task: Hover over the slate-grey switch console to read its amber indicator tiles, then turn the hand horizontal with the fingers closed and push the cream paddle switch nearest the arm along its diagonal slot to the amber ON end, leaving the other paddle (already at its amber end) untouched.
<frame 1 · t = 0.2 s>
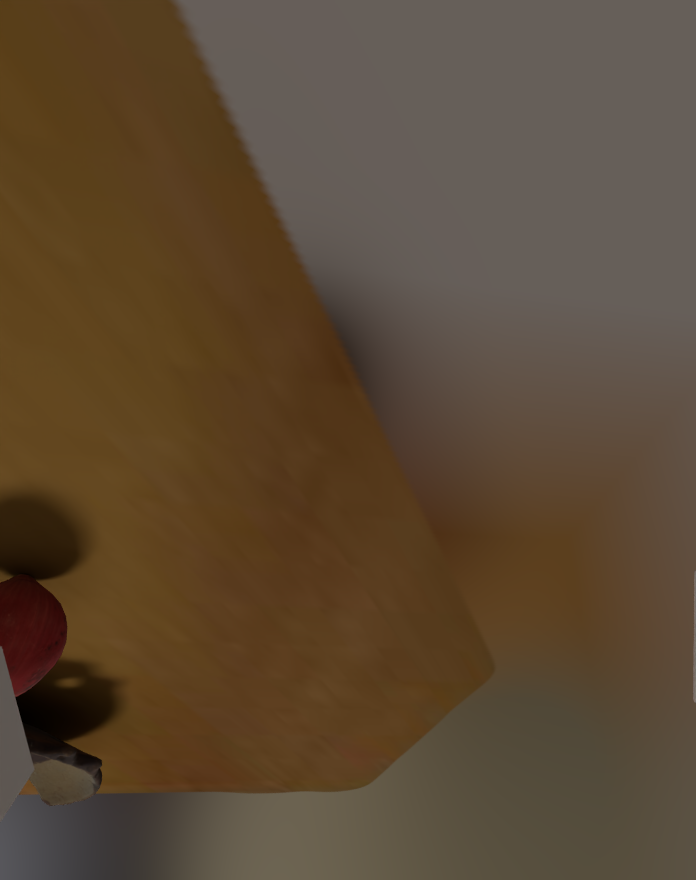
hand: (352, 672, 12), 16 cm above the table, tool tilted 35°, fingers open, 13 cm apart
onion: (27, 573, 38), on the table
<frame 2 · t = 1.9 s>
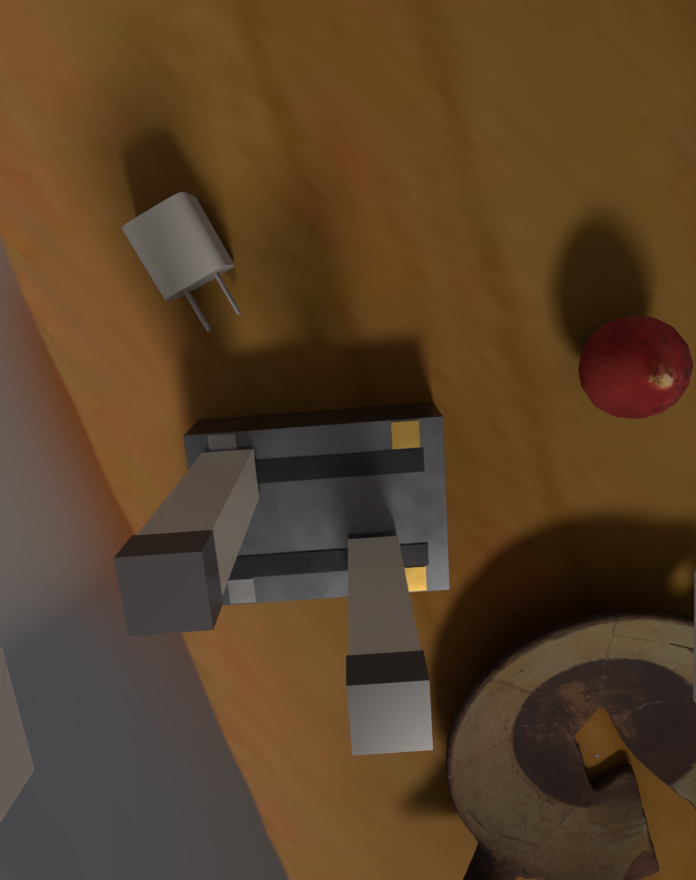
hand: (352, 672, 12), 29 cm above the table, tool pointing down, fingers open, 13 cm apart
onion: (606, 358, 40), on the table
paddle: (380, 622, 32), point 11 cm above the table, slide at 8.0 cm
console: (323, 492, 42), on the table
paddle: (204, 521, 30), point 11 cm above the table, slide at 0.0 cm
broken bowl: (558, 730, 47), on the table
usb wall charger: (201, 268, 39), on the table
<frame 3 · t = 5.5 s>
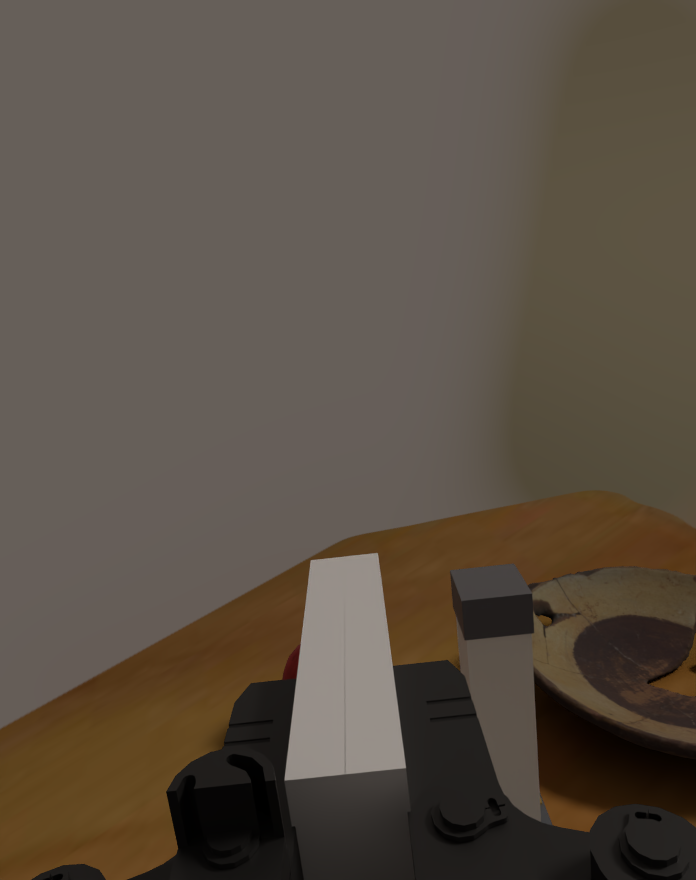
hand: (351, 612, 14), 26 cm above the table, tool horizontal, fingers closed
onion: (326, 724, 50), on the table
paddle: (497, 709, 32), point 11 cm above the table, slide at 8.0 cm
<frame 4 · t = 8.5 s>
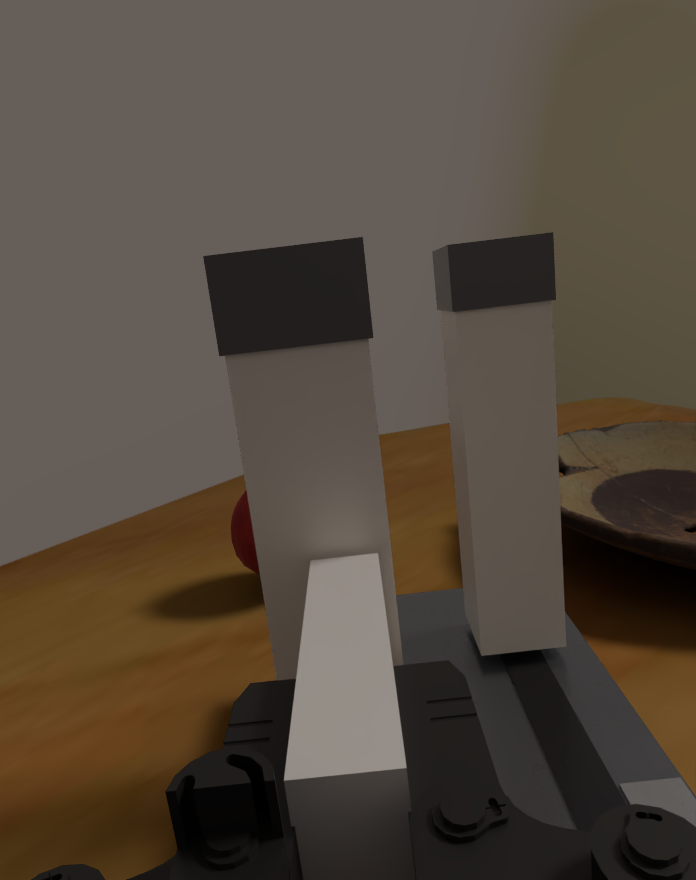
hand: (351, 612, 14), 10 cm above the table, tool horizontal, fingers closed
onion: (287, 587, 40), on the table
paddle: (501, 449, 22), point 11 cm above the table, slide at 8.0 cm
console: (456, 797, 22), on the table
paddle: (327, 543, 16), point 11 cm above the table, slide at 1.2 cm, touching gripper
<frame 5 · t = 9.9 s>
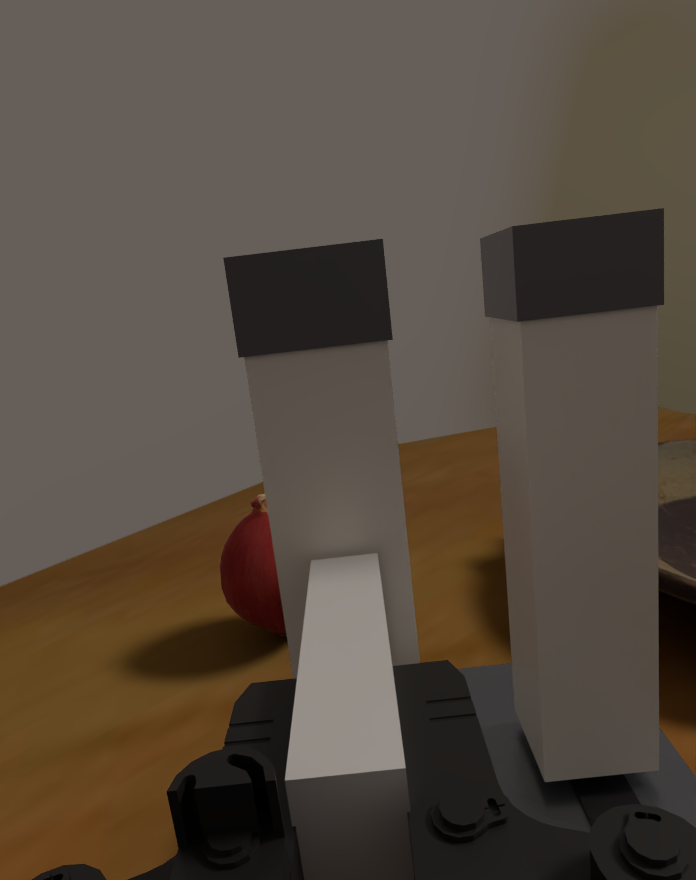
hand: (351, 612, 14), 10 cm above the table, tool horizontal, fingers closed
onion: (286, 636, 34), on the table
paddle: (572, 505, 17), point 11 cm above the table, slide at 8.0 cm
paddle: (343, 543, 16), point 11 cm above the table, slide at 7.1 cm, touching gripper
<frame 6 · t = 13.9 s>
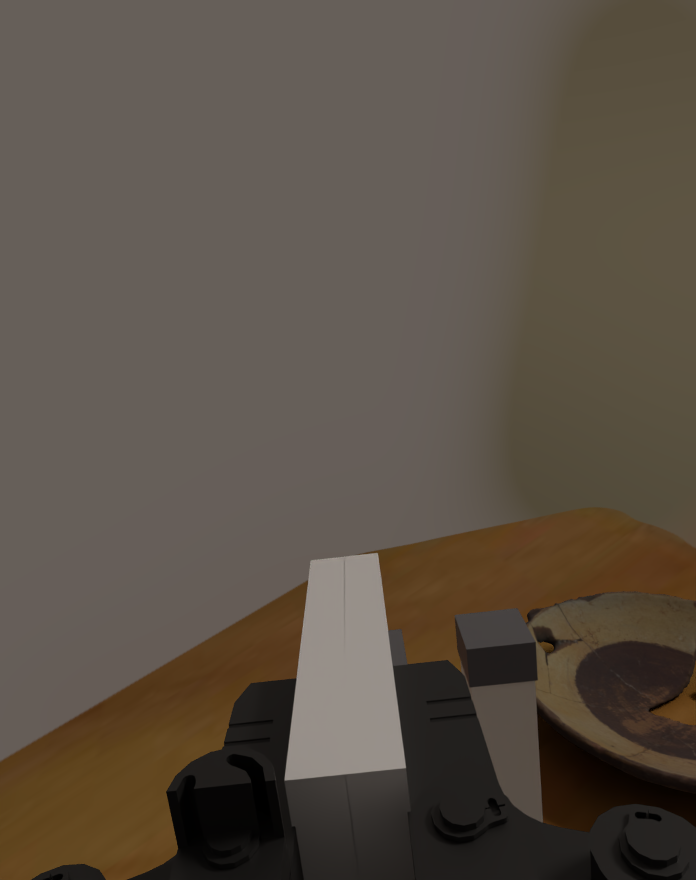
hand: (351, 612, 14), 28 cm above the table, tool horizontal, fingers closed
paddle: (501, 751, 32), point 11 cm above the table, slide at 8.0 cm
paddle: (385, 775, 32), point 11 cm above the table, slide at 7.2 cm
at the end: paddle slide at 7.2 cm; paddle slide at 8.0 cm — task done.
